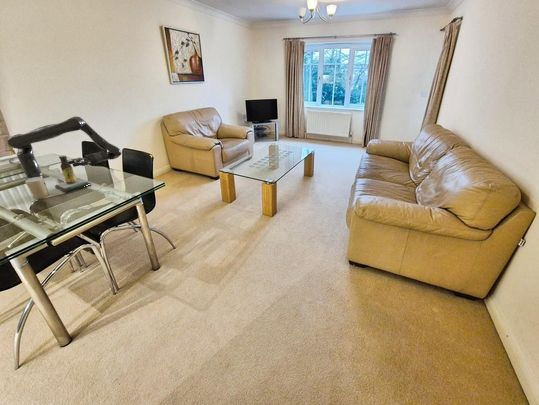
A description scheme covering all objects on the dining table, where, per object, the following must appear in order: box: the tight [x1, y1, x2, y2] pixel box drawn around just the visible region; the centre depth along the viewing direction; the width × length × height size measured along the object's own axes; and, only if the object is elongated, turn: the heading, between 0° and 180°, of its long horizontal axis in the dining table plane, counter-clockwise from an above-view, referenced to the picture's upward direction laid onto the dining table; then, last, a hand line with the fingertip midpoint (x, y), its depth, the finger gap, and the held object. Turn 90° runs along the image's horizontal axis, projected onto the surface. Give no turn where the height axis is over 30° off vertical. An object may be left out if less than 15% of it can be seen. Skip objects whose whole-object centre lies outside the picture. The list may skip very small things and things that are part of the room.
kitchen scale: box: [54, 177, 92, 194], centre depth 181 cm, size 16×16×3 cm
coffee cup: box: [24, 176, 50, 199], centre depth 166 cm, size 9×9×12 cm
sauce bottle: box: [58, 154, 76, 184], centre depth 177 cm, size 7×6×20 cm
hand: (70, 164), depth 178 cm, fingers open, 8 cm apart
